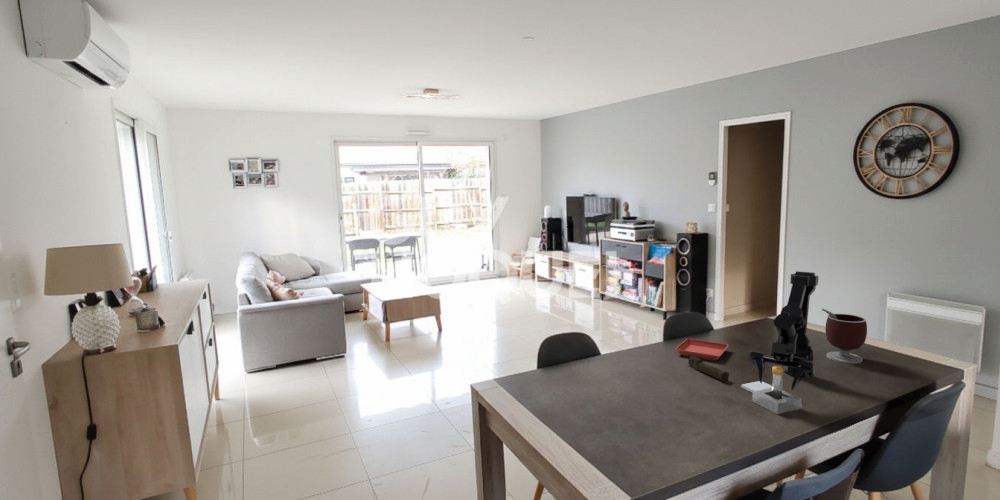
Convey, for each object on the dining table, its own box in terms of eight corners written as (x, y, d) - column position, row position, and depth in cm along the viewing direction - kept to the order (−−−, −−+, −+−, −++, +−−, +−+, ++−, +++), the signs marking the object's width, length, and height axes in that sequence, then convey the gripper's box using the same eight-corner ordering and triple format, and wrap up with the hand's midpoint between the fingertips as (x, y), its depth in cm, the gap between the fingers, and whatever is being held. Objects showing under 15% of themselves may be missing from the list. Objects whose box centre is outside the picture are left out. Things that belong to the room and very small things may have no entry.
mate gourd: (863, 355, 204) (866, 308, 202) (866, 366, 193) (869, 316, 190) (819, 349, 213) (821, 304, 210) (819, 360, 201) (822, 312, 199)
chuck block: (775, 396, 169) (775, 386, 168) (801, 408, 159) (801, 398, 159) (752, 401, 166) (752, 391, 165) (777, 414, 156) (777, 403, 156)
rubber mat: (760, 383, 180) (760, 380, 180) (781, 392, 172) (781, 390, 172) (741, 387, 177) (741, 384, 177) (761, 397, 169) (761, 394, 169)
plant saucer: (686, 344, 226) (686, 337, 226) (729, 351, 216) (729, 344, 215) (674, 356, 212) (675, 348, 211) (719, 364, 201) (720, 356, 201)
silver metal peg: (775, 401, 165) (777, 364, 164) (787, 406, 161) (788, 368, 160) (765, 403, 164) (767, 366, 162) (776, 409, 160) (778, 370, 158)
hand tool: (729, 381, 183) (730, 369, 183) (720, 383, 182) (721, 371, 181) (694, 365, 201) (694, 354, 200) (686, 366, 200) (686, 355, 199)
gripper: (751, 327, 169) (740, 368, 162) (815, 337, 156) (806, 381, 150) (757, 343, 175) (747, 383, 169) (818, 354, 163) (810, 397, 156)
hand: (776, 385), depth 161 cm, fingers open, 9 cm apart
